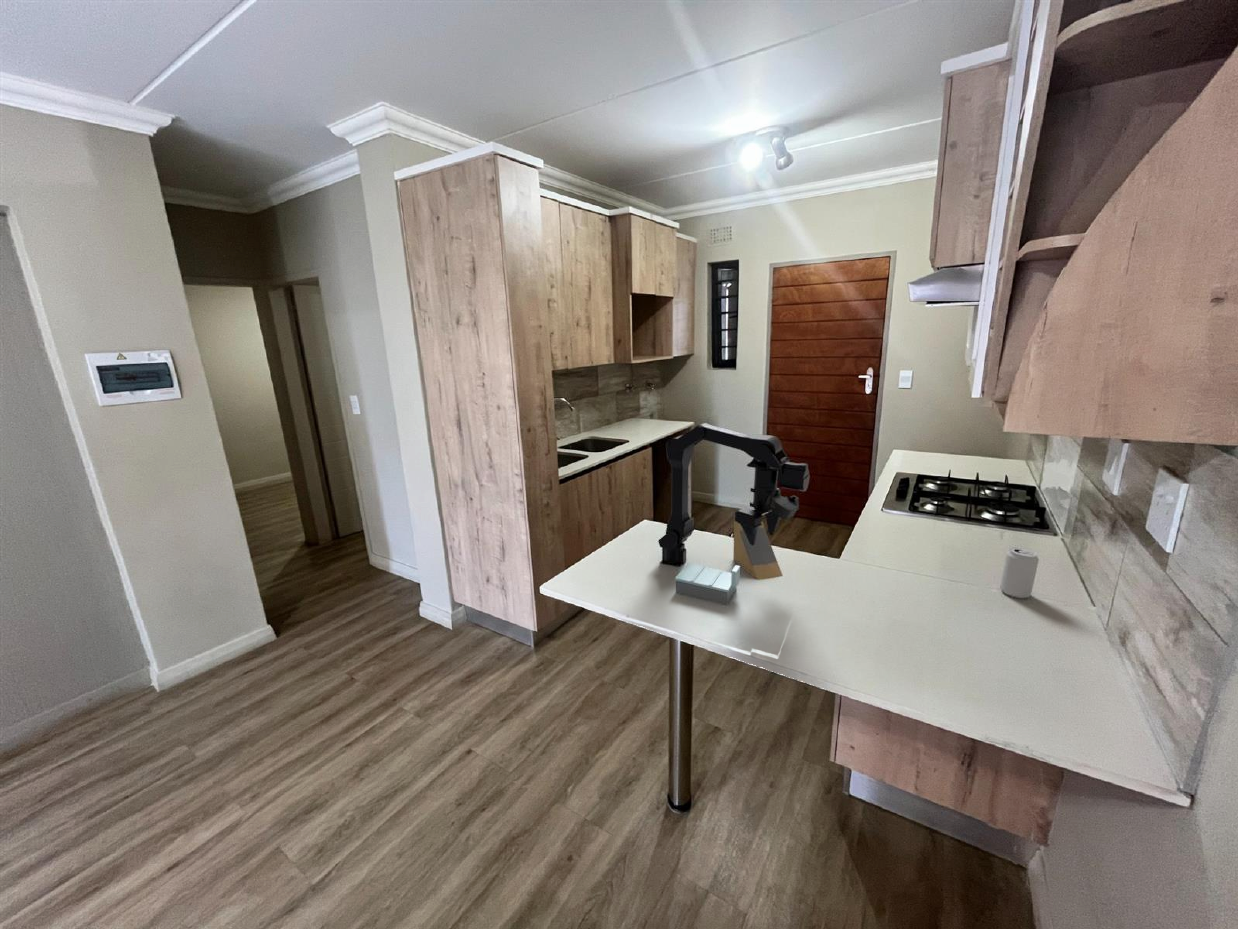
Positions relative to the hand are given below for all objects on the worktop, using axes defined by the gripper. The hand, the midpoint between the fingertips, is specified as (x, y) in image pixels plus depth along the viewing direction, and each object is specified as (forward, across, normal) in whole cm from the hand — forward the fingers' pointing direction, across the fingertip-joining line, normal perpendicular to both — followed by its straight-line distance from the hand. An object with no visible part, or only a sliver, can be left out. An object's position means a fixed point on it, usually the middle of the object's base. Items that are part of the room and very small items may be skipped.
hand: (761, 539), depth 130 cm
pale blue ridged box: (+9, -13, +7) cm, 18 cm away
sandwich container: (+14, +8, +6) cm, 17 cm away
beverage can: (+14, +44, -48) cm, 67 cm away
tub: (+14, -14, +8) cm, 21 cm away
